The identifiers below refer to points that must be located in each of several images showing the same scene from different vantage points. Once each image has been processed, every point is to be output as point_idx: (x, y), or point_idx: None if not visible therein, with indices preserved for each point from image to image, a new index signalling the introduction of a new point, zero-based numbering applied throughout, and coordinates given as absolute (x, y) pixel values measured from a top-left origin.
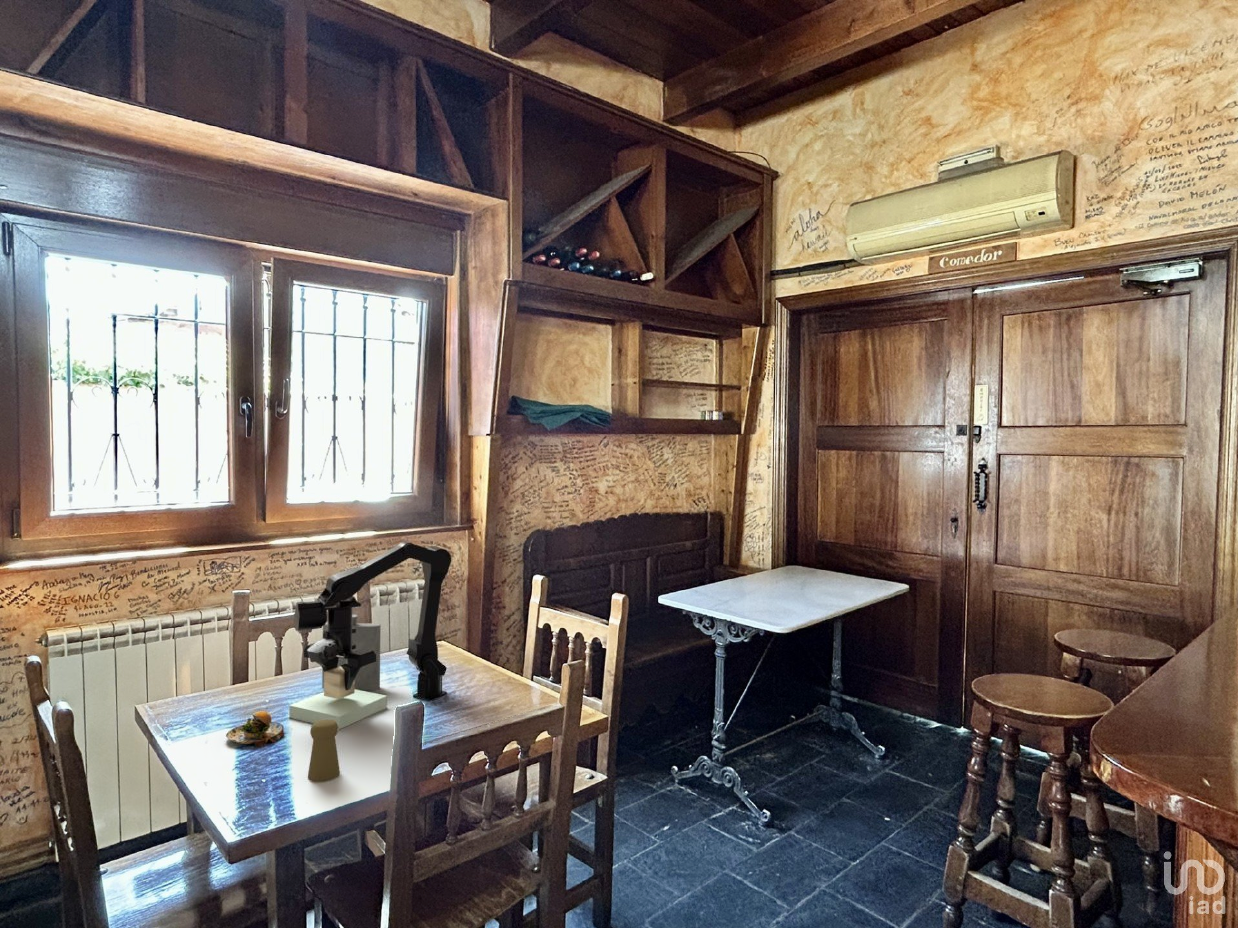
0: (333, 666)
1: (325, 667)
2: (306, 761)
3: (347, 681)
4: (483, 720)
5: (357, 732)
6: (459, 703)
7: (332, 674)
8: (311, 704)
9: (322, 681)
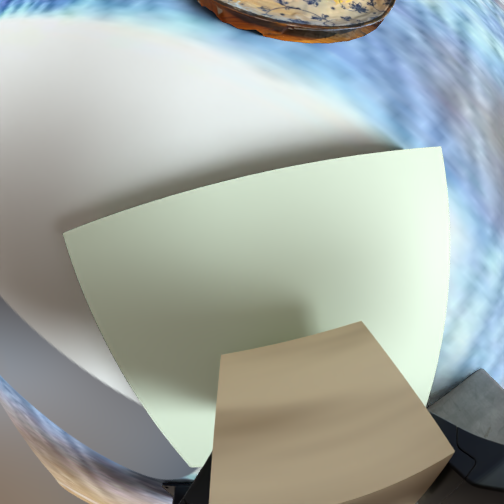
0: (433, 501)
1: (473, 475)
2: (4, 48)
3: (196, 477)
4: (23, 434)
5: (37, 253)
6: (117, 481)
7: (326, 494)
8: (371, 231)
9: (490, 377)
